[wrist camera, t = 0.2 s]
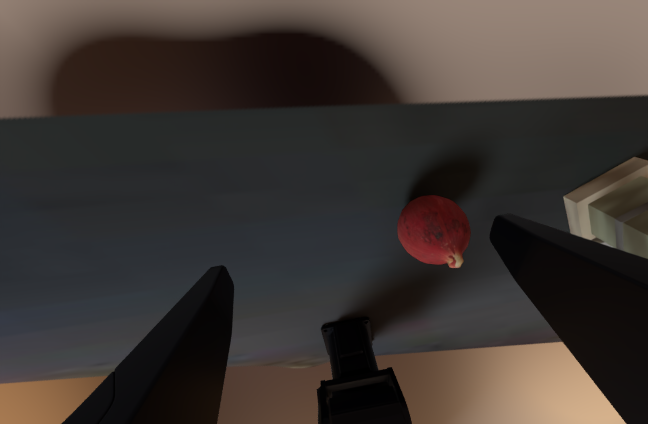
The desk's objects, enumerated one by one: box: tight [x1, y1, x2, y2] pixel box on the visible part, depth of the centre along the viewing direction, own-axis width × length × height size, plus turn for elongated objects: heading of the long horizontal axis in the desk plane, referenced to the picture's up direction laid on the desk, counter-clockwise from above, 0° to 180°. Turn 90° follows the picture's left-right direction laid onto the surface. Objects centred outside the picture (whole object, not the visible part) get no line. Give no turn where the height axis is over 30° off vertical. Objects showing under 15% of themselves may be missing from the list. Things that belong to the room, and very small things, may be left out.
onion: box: [398, 195, 471, 268], centre depth 23 cm, size 6×6×8 cm
